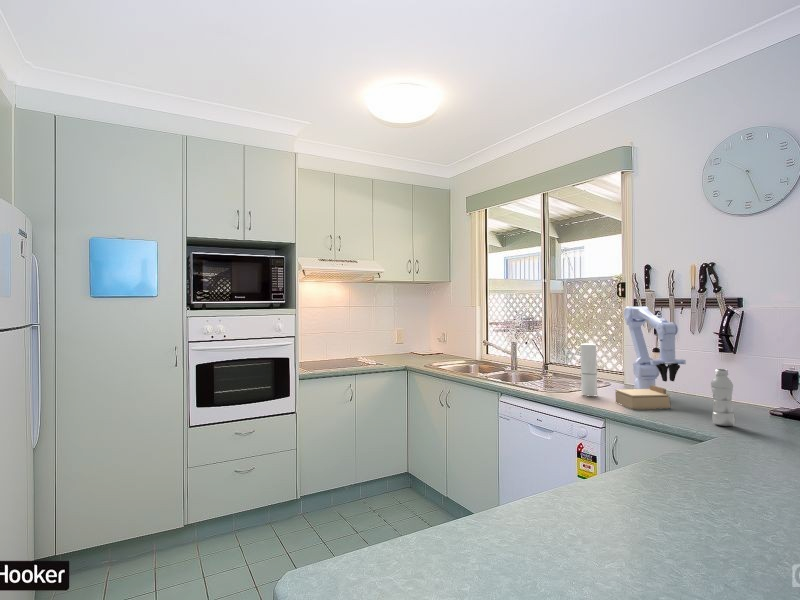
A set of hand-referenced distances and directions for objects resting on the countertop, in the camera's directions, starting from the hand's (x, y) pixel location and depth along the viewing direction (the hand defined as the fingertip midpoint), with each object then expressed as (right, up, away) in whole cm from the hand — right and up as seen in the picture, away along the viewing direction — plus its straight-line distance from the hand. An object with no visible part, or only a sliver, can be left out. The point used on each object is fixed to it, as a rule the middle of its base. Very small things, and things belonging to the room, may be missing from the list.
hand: (668, 381), depth 198 cm
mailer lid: (-12, -5, 0) cm, 13 cm away
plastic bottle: (-1, -10, -35) cm, 37 cm away
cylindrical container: (-24, -12, +24) cm, 36 cm away
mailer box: (-12, -11, 0) cm, 16 cm away
